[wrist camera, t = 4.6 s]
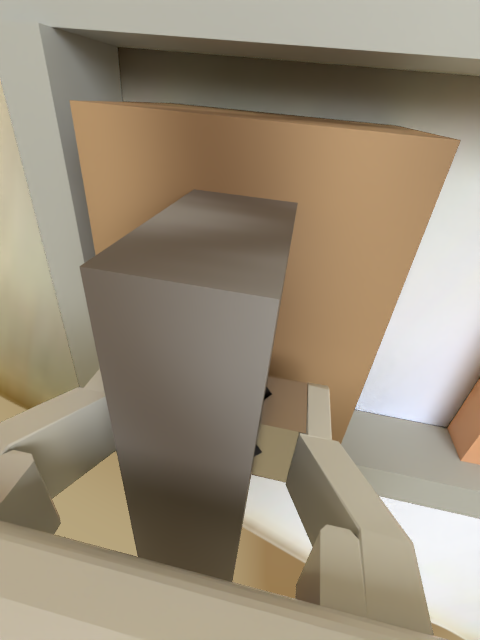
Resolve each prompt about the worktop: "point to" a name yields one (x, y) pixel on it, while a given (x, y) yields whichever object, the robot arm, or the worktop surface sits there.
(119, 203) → the brown and grey block
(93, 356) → the bay
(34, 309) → the worktop surface
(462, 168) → the worktop surface
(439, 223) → the worktop surface
